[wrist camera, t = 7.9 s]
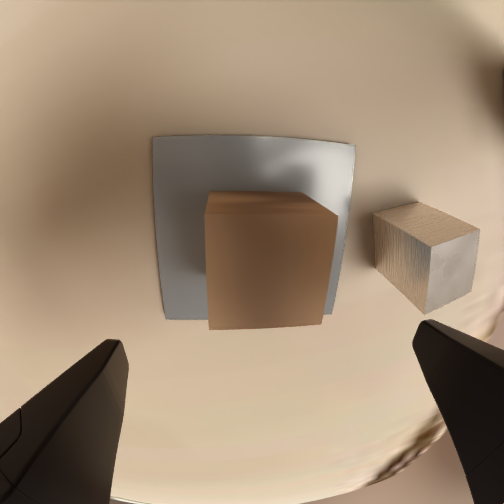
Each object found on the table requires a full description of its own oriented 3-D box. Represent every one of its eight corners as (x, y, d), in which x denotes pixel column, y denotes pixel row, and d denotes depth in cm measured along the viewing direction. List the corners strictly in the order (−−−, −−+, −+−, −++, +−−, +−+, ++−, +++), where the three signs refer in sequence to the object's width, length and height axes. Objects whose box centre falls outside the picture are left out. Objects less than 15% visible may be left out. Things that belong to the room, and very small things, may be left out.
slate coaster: (350, 145, 15) (355, 145, 14) (328, 309, 19) (331, 313, 18) (155, 137, 13) (152, 137, 13) (167, 314, 18) (165, 319, 17)
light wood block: (418, 201, 17) (479, 229, 11) (418, 253, 18) (470, 291, 13) (372, 213, 17) (431, 247, 11) (375, 268, 18) (424, 314, 13)
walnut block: (302, 192, 15) (338, 216, 10) (295, 275, 17) (321, 324, 12) (209, 190, 14) (204, 214, 10) (210, 277, 16) (209, 329, 12)
